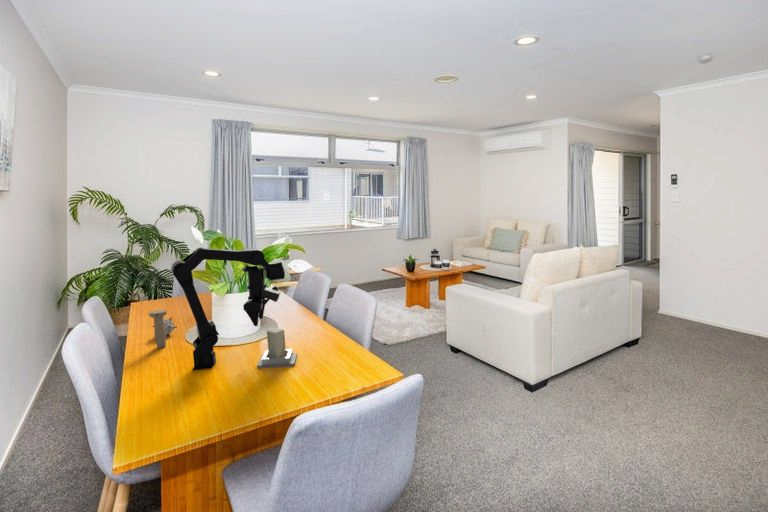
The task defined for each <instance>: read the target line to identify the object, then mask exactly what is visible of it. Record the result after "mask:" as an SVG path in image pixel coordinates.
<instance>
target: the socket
mask: <svg viewBox="0 0 768 512" xmlns="http://www.w3.org/2000/svg"><path fill="white" fill-rule="evenodd" d="M297 356H298V353H297V352H294V353H293V348H286V357H274V358H269V352H268V349H267V350H264V353H263V354H262V355H261V356H260V359H259V361H258V363H257V366H256V368H257V369H269V368H270V369H272V368H285V367H295V365H296V362H297Z"/></svg>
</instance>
